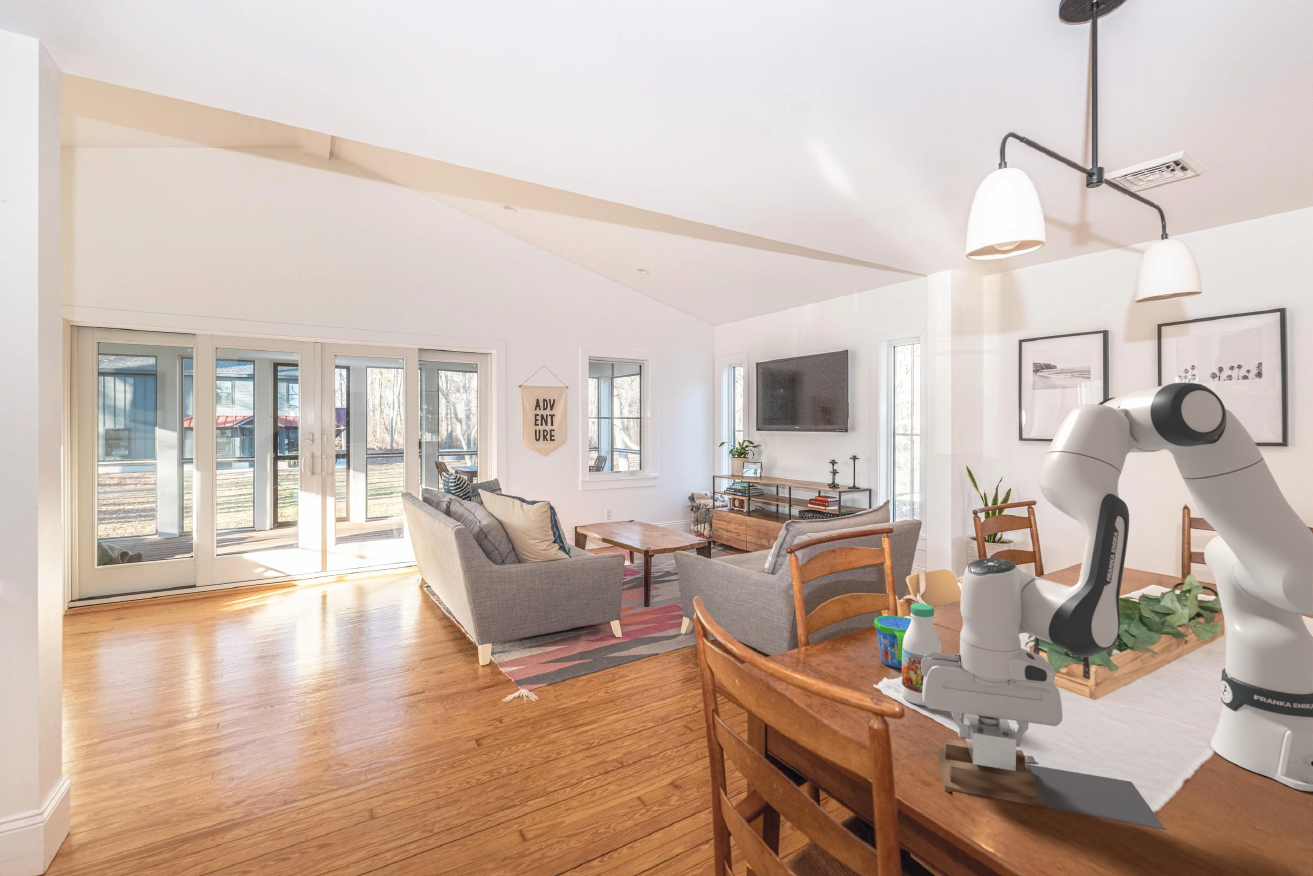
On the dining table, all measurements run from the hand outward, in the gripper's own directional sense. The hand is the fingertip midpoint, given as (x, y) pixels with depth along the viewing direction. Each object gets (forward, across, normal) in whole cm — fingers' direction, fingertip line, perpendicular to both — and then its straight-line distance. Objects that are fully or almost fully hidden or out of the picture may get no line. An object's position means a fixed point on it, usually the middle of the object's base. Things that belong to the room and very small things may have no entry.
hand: (988, 740), depth 100 cm
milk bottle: (+7, -8, +27) cm, 29 cm away
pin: (+6, +6, +8) cm, 12 cm away
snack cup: (+7, -12, +45) cm, 47 cm away
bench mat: (+6, +14, 0) cm, 15 cm away
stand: (+6, 0, 0) cm, 6 cm away
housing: (+2, 0, 0) cm, 2 cm away
